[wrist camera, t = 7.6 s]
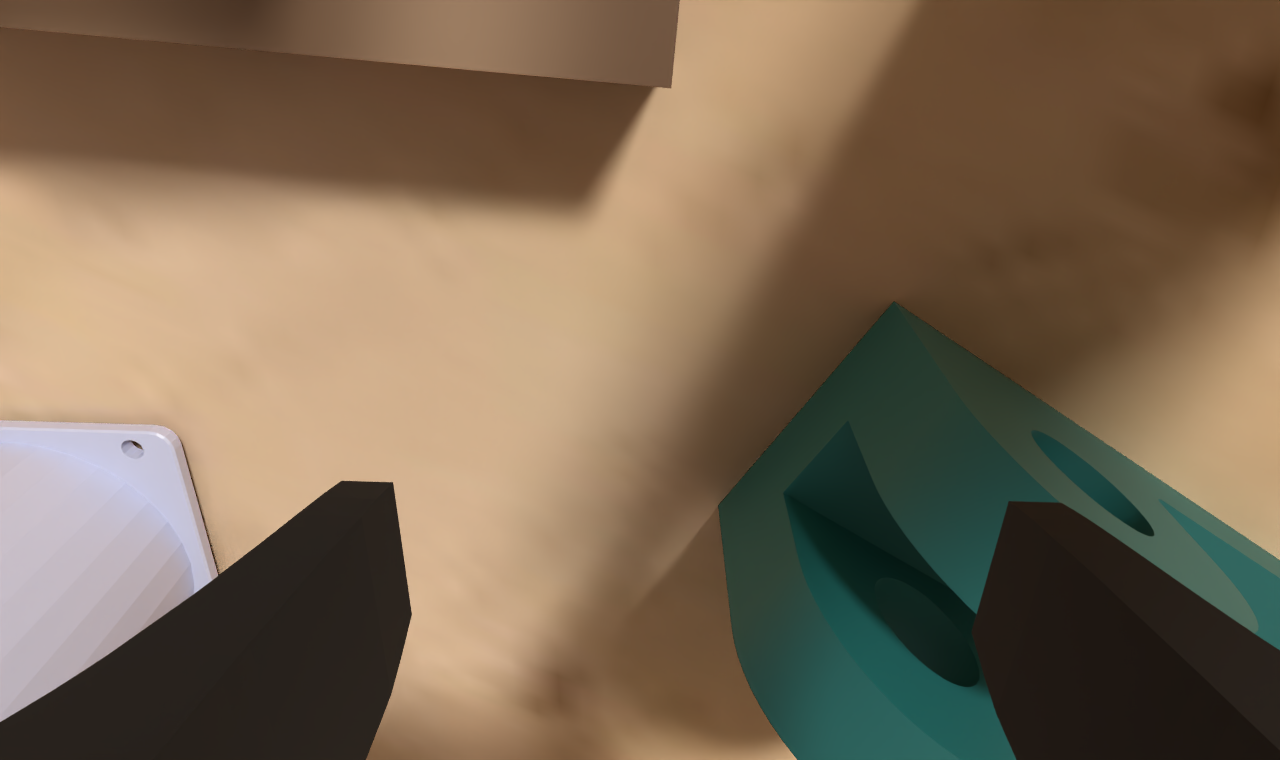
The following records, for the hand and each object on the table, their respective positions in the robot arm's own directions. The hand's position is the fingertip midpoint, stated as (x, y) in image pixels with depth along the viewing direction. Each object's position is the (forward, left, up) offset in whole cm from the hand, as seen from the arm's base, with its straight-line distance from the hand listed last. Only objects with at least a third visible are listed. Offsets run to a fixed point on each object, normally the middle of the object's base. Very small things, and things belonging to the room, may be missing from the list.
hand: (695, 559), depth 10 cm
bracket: (+11, -8, -10) cm, 17 cm away
